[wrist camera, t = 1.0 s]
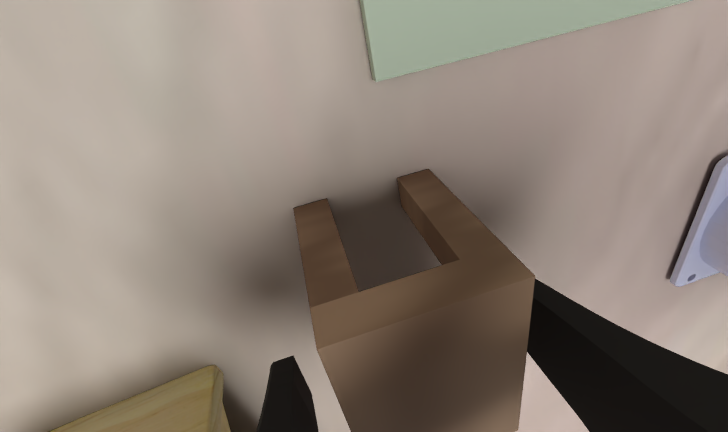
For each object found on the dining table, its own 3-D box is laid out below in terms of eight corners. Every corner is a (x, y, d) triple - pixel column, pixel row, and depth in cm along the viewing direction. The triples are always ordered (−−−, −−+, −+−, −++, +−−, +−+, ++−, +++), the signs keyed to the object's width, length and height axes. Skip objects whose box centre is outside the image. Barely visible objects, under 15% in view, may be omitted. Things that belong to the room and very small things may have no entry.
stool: (428, 168, 13) (535, 276, 8) (440, 301, 17) (517, 430, 12) (293, 207, 12) (316, 349, 7) (338, 336, 16) (373, 485, 11)
